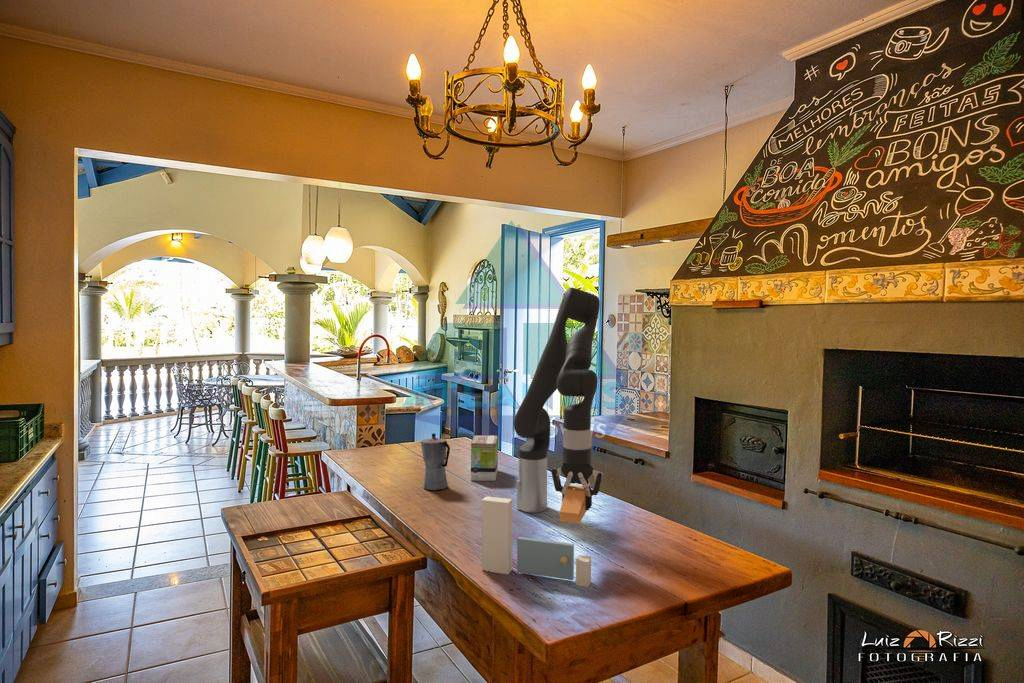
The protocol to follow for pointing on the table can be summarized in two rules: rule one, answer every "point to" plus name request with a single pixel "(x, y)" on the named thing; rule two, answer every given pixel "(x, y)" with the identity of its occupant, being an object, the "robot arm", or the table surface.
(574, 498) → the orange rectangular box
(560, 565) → the door
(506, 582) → the table surface
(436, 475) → the moka pot
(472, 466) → the tea box
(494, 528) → the door frame
